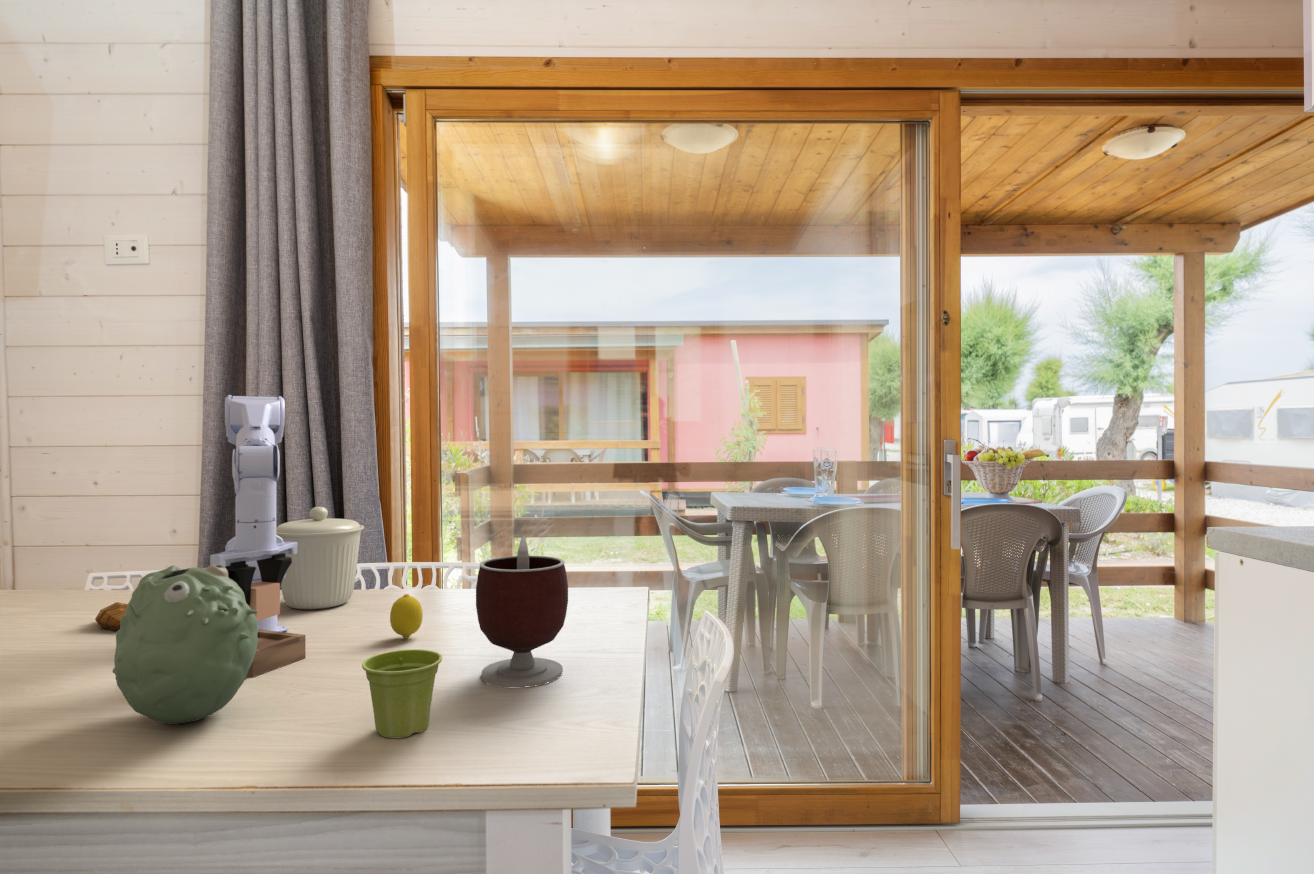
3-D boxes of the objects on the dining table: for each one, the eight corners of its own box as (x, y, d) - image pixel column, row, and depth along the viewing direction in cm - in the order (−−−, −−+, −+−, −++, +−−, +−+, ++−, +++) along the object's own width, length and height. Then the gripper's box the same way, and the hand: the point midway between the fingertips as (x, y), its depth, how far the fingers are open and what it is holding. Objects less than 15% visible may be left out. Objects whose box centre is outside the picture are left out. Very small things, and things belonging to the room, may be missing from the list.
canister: (341, 615, 147) (341, 511, 147) (253, 614, 147) (253, 511, 147) (377, 595, 165) (377, 502, 165) (298, 594, 165) (298, 502, 165)
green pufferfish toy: (206, 688, 104) (206, 549, 104) (290, 712, 95) (290, 560, 95) (78, 726, 91) (78, 567, 91) (162, 759, 82) (161, 582, 82)
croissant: (151, 629, 137) (151, 603, 137) (108, 638, 131) (108, 610, 131) (125, 619, 145) (125, 594, 145) (83, 626, 139) (83, 600, 139)
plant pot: (375, 715, 94) (375, 649, 94) (448, 713, 95) (448, 647, 95) (350, 746, 85) (350, 672, 85) (432, 743, 86) (432, 670, 86)
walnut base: (204, 669, 113) (204, 645, 113) (259, 651, 122) (259, 629, 122) (252, 677, 109) (252, 652, 109) (305, 657, 119) (305, 634, 119)
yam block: (234, 618, 114) (234, 586, 114) (258, 611, 118) (258, 581, 118) (256, 620, 113) (256, 588, 113) (280, 613, 117) (279, 583, 117)
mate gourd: (569, 686, 105) (570, 549, 105) (471, 692, 103) (471, 551, 103) (565, 654, 120) (565, 534, 120) (480, 658, 118) (480, 536, 118)
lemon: (412, 643, 127) (412, 598, 127) (383, 641, 128) (383, 596, 128) (428, 635, 132) (428, 591, 132) (400, 633, 133) (400, 590, 133)
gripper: (234, 527, 107) (234, 618, 107) (311, 516, 121) (311, 597, 121) (199, 525, 110) (200, 614, 110) (279, 515, 123) (279, 594, 123)
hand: (256, 605), depth 116 cm, fingers closed on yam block, 4 cm apart
